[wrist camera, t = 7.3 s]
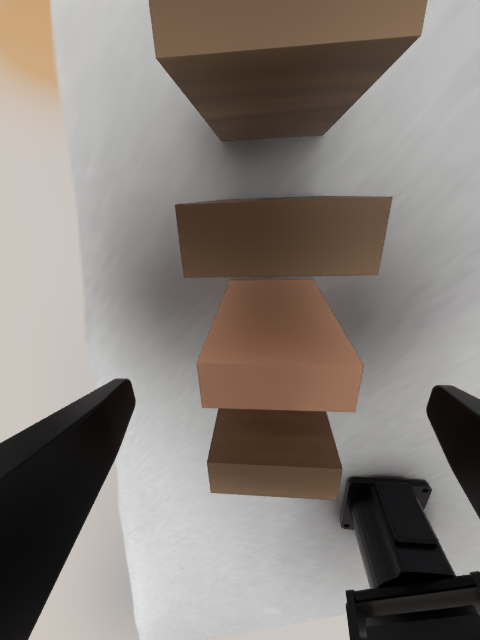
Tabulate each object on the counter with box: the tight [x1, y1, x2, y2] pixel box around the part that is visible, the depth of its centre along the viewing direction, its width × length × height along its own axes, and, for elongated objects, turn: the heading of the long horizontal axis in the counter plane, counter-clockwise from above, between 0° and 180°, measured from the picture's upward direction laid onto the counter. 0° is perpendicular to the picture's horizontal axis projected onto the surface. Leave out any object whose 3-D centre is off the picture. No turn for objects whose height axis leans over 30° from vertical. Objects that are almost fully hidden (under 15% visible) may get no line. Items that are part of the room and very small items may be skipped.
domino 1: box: [149, 0, 427, 141], centre depth 9 cm, size 2×5×9 cm, turn 92°
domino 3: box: [197, 279, 364, 412], centre depth 13 cm, size 2×5×9 cm, turn 92°
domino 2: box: [175, 196, 392, 278], centre depth 11 cm, size 2×5×9 cm, turn 92°
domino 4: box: [207, 408, 343, 500], centre depth 14 cm, size 2×5×9 cm, turn 92°
